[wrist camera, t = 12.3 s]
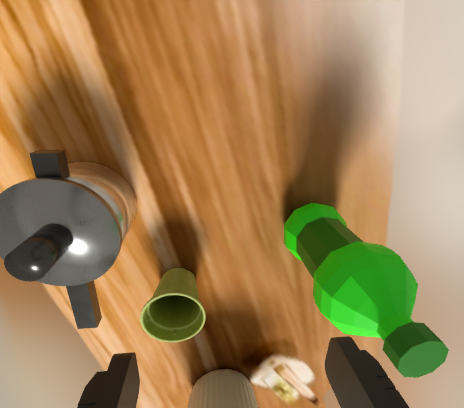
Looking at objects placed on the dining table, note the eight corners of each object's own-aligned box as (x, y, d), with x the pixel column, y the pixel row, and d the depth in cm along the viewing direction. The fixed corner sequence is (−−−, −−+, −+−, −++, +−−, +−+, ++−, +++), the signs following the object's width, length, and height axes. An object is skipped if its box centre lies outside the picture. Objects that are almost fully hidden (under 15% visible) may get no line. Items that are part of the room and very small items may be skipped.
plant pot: (143, 266, 43) (129, 304, 35) (196, 252, 43) (195, 286, 35) (161, 306, 47) (153, 348, 39) (210, 293, 47) (212, 333, 39)
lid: (-23, 177, 26) (-90, 199, 20) (112, 176, 28) (88, 196, 22) (16, 282, 31) (-28, 325, 25) (129, 276, 33) (113, 315, 27)
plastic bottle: (277, 252, 45) (356, 410, 22) (275, 197, 41) (371, 320, 18) (331, 244, 46) (463, 390, 22) (335, 190, 41) (501, 299, 18)
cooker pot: (28, 140, 34) (-29, 153, 25) (129, 141, 35) (106, 154, 27) (68, 288, 43) (36, 333, 35) (147, 284, 44) (134, 327, 36)
